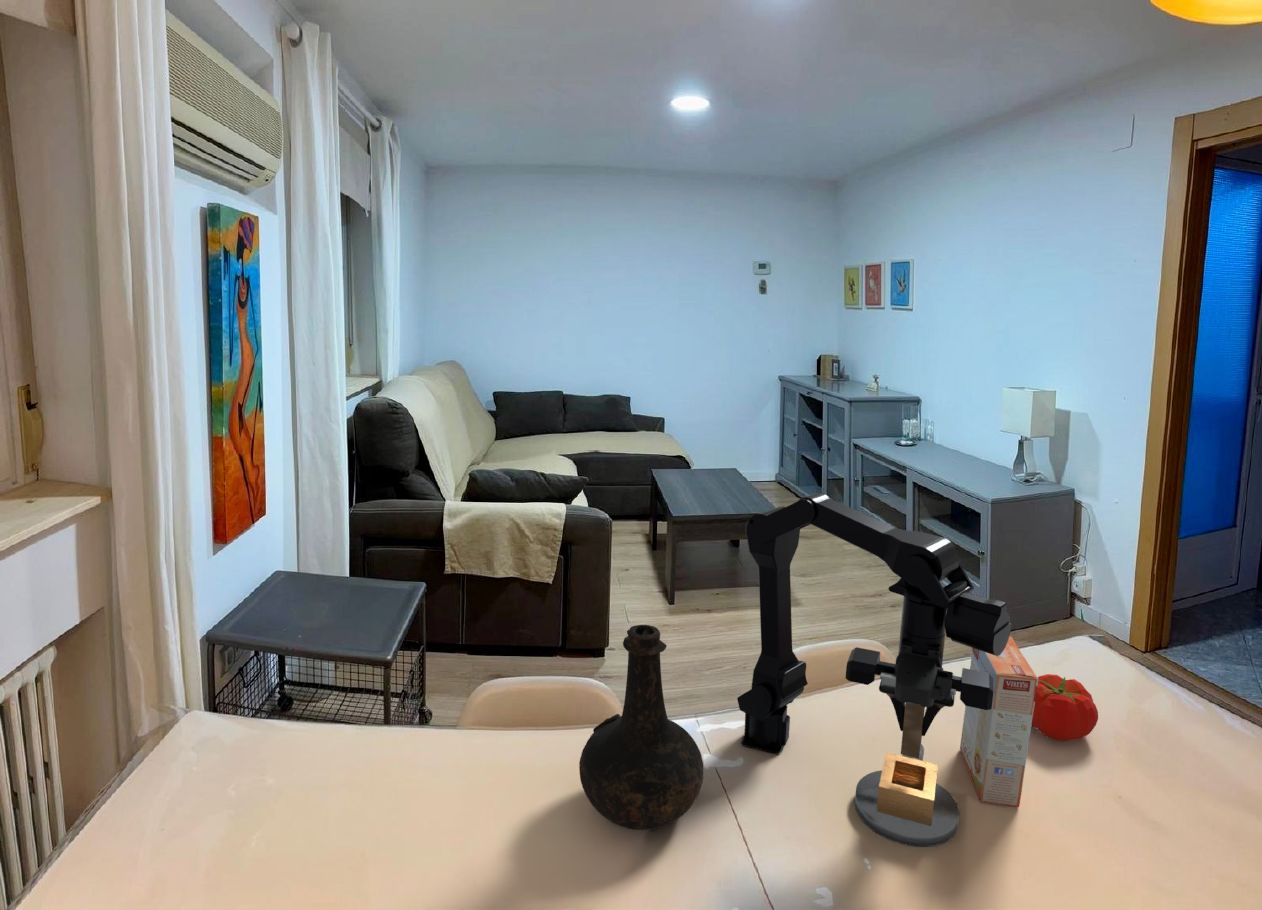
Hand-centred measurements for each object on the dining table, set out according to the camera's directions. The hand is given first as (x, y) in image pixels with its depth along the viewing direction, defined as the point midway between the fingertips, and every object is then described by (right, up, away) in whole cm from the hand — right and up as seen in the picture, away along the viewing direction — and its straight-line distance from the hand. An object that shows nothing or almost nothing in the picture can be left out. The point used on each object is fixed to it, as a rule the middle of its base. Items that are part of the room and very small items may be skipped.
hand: (912, 732), depth 109 cm
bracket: (+1, -12, +4) cm, 13 cm away
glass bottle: (-38, -12, +3) cm, 40 cm away
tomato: (+33, -8, +24) cm, 41 cm away
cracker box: (+16, -11, +11) cm, 22 cm away
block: (0, -2, 0) cm, 3 cm away
